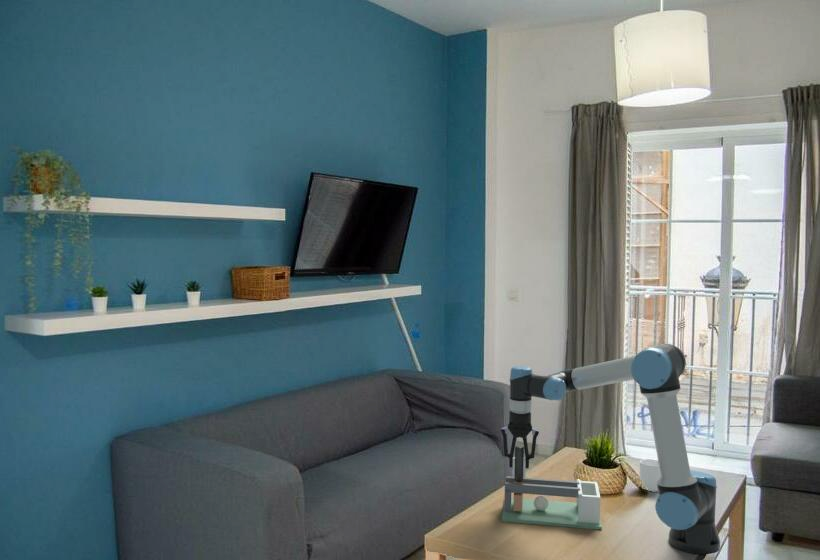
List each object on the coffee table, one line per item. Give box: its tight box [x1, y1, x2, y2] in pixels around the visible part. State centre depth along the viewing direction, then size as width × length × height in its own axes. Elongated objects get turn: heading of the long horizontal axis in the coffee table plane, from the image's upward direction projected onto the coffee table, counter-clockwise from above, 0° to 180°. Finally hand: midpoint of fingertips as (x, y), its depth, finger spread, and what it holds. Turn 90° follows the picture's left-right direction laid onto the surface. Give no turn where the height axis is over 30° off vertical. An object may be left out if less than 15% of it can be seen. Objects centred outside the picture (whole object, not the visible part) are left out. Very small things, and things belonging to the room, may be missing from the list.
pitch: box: [501, 475, 603, 530], centre depth 248 cm, size 20×33×11 cm, turn 79°
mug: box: [639, 458, 661, 493], centre depth 275 cm, size 12×8×10 cm
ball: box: [534, 495, 549, 511], centre depth 249 cm, size 5×5×5 cm
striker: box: [513, 445, 525, 512], centre depth 250 cm, size 10×3×21 cm, turn 169°
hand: (518, 476), depth 250 cm, fingers closed on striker, 3 cm apart
